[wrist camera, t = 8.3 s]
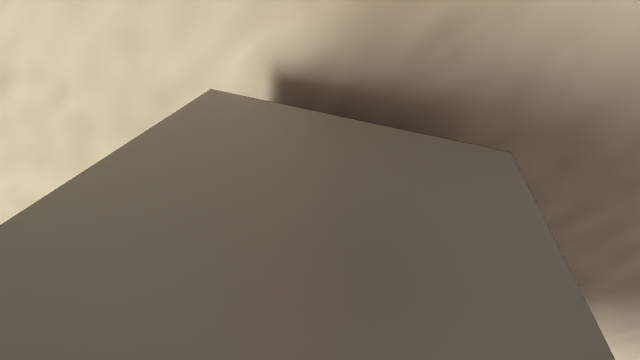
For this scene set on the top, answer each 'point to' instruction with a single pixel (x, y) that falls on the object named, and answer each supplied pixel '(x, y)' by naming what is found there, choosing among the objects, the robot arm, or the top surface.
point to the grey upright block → (290, 249)
